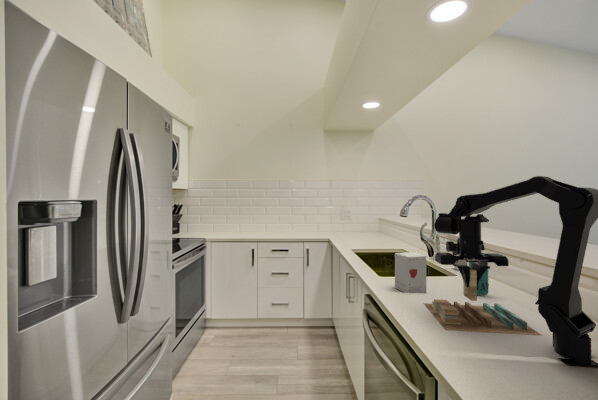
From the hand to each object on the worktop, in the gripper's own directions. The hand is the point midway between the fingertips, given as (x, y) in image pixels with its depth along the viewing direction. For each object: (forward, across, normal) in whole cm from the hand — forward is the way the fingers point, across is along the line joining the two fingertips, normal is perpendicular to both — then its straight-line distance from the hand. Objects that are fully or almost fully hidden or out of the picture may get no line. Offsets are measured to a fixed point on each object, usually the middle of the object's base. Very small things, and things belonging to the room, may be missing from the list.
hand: (470, 287), depth 84 cm
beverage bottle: (+10, -13, -23) cm, 28 cm away
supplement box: (+10, +11, -27) cm, 31 cm away
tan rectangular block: (+3, 0, 0) cm, 3 cm away
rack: (+10, 0, 0) cm, 10 cm away
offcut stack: (+9, +7, 0) cm, 12 cm away
